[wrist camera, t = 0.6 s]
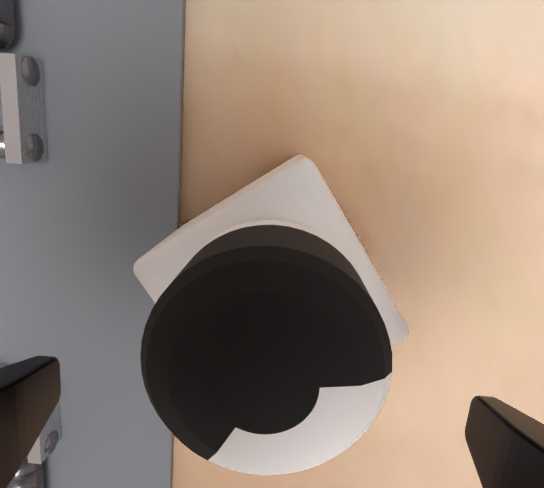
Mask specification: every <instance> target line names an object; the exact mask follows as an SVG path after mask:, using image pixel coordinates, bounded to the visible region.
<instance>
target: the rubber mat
mask: <svg viewBox="0 0 544 488" xmlns="http://www.w3.org/2000/svg"><path fill="white" fill-rule="evenodd" d="M13 2H14V18H15V37H14V40H13V42H12V43H11V45H10V46H9V47H7V48H6V49H4V50H0V53H10V54H17V55H20V56H31V57H33V58H34V59H35V60H36V61H37V62H40V63H43V64H44V84H45V105H46V125H47V146H48V162H44V163H30V164H15V163H6V158H0V363H7V364H8V365H11V364H14V363H17V362H20V361H23V360H26V359H29V358H32V357H35V356H40V355H41V356H52V357H56V358H57V359H58V360H59V362H60V376H61V395H60V412H61V433H62V438H61V439H60V440H59V442H58V443H57V445H56V447H55V449H54V451H53V452H52V453H51V454H50V455H48V456H47V457H46V459H45V460H44V461H43V462H42V463H43V479H44V488H172V469H173V433H172V432H171V431H170V430H169V429H168V428H167V427H166V425H165V424H164V423H163V421H162V420H161V419H160V417H159V416H158V415H157V413H156V411H155V409H154V407H153V406H152V404H151V402H150V399H149V397H148V394H147V392H146V389H145V386H144V381H143V377H142V372H141V359H140V354H141V342H142V337H143V333H144V328H145V325H146V322H147V320H148V317H149V315H150V313H151V310H152V308H153V307H154V305H155V302H154V301H153V300H152V298H151V297H150V295H149V294H148V293H147V291H146V290H145V288H144V287H143V285H142V284H141V283H140V281H139V280H138V278H137V277H136V276H135V274H134V271H133V268H134V263H135V262H136V261H137V260H138V259H139V258H141V257H142V256H143V255H144V254H146V253H147V252H148V251H150V250H151V249H152V248H154V247H155V246H156V245H158V244H159V243H160V242H161V241H163V240H164V239H165V238H167V237H168V236H169V235H171V234H172V233H173V232H175V231H176V230H177V229H178V228H179V213H180V177H181V140H182V103H183V67H184V30H185V0H13ZM0 131H4V130H3V117H2V103H1V89H0Z"/></svg>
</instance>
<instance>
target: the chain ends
mask: <svg viewBox="0 0 544 488" xmlns="http://www.w3.org/2000/svg"><path fill="white" fill-rule="evenodd" d="M14 37H15V18H14V2H13V0H0V50H4V49H6V48H7V47H9V46H10V45H11V43H12V42H13V40H14ZM0 89H1V103H2V117H3V130H4V131H0V158H6V163H15V164H30V163H44V162H48V146H47V125H46V105H45V84H44V64H43V63H40V62H37V61H36V60H35V59H34V58H33V57H31V56H20V55H17V54H10V53H0ZM5 366H8V364H7V363H0V368H2V367H5ZM61 438H62V433H61V412H60V399H59V402H58V404H57V406H56V407H55V409H54V411H53V412H52V414H51V416H50V418H49V419H48V421H47V423H46V425H45V426H44V428H43V430H42V432H41V433H40V435H39V437H38V439H37V440H36V442H35V444H34V446H33V447H32V449H31V451H30V453H29V454H28V456H27V458H26V459H25V461H24V463H23V464H22V466H21V468H20V469H19V470H18V472H17V473H16V475H15V476H14V478H13V479H12V481H11V482H10V484H9V485H8V486H7V488H44V479H43V463H42V462H43V461H44V460H45V459H46V457H47V456H48V455H50V454H51V453H52V452H53V451H54V449H55V447H56V445H57V443H58V442H59V440H60V439H61Z"/></svg>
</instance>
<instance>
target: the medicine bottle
mask: <svg viewBox="0 0 544 488" xmlns="http://www.w3.org/2000/svg"><path fill="white" fill-rule="evenodd" d="M133 271H134V274H135V276H136V277H137V278H138V280H139V281H140V283H141V284H142V285H143V287H144V288H145V290H146V291H147V293H148V294H149V295H150V297H151V298H152V300H153V301H154V302H155V305H154V307H153V308H152V310H151V313H150V315H149V317H148V320H147V322H146V325H145V328H144V333H143V337H142V342H141V354H140V359H141V372H142V377H143V381H144V386H145V389H146V392H147V394H148V397H149V399H150V402H151V404H152V406H153V407H154V409H155V411H156V413H157V415H158V416H159V417H160V419H161V420H162V421H163V423H164V424H165V425H166V427H167V428H168V429H169V430H170V431H171V432H172V433H173V434H174V435H175V436H176V437H177V438H178V439H179V440H180V441H181V442H182V443H183V444H184V445H185V446H187V447H188V448H189V449H190V450H192V451H193V452H194V453H196V454H198V455H199V456H201V457H203V458H204V459H206V460H208V461H210V462H212V463H214V464H217V465H219V466H221V467H224V468H227V469H230V470H234V471H237V472H243V473H248V474H256V475H283V474H289V473H295V472H300V471H303V470H306V469H310V468H313V467H315V466H318V465H320V464H322V463H324V462H327V461H328V460H330V459H332V458H333V457H335V456H337V455H338V454H340V453H342V452H343V451H345V450H346V449H347V448H348V447H350V446H351V445H352V444H353V443H355V442H356V441H357V440H358V439H359V438H360V437H361V436H362V435H363V434H364V433H365V432H366V431H367V430H368V428H369V427H370V426H371V424H372V423H373V421H374V420H375V419H376V417H377V416H378V414H379V412H380V410H381V408H382V406H383V404H384V402H385V399H386V396H387V393H388V390H389V386H390V380H391V374H392V351H391V346H392V345H393V344H395V343H397V342H399V341H401V340H403V339H404V338H406V337H407V335H408V332H409V330H408V325H407V323H406V321H405V320H404V318H403V316H402V314H401V313H400V311H399V309H398V307H397V306H396V304H395V302H394V301H393V299H392V297H391V295H390V294H389V292H388V290H387V288H386V287H385V285H384V283H383V281H382V280H381V278H380V276H379V274H378V273H377V271H376V269H375V267H374V266H373V264H372V262H371V261H370V259H369V257H368V255H367V254H366V252H365V250H364V248H363V247H362V245H361V243H360V241H359V240H358V238H357V236H356V234H355V233H354V231H353V229H352V228H351V226H350V224H349V222H348V221H347V219H346V217H345V215H344V214H343V212H342V210H341V208H340V207H339V205H338V203H337V201H336V200H335V198H334V196H333V194H332V193H331V191H330V189H329V188H328V186H327V184H326V182H325V181H324V179H323V177H322V175H321V174H320V172H319V170H318V168H317V167H316V165H315V164H314V163H313V162H312V161H311V160H310V159H308V158H306V157H305V156H303V155H296V156H294V157H292V158H291V159H289V160H287V161H286V162H284V163H283V164H281V165H279V166H278V167H276V168H274V169H273V170H271V171H270V172H268V173H266V174H265V175H263V176H261V177H260V178H258V179H257V180H255V181H253V182H252V183H250V184H249V185H247V186H245V187H244V188H242V189H240V190H239V191H237V192H236V193H234V194H232V195H231V196H229V197H227V198H226V199H224V200H223V201H221V202H219V203H218V204H216V205H214V206H213V207H211V208H210V209H208V210H206V211H205V212H203V213H201V214H200V215H198V216H197V217H195V218H193V219H192V220H190V221H189V222H187V223H185V224H184V225H182V226H181V227H180V228H178V229H177V230H176V231H175V232H173V233H172V234H171V235H169V236H168V237H167V238H165V239H164V240H163V241H161V242H160V243H159V244H158V245H156V246H155V247H154V248H152V249H151V250H150V251H148V252H147V253H146V254H144V255H143V256H142V257H141V258H139V259H138V260H137V261H136V262H135V263H134V268H133Z"/></svg>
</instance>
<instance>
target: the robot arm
mask: <svg viewBox="0 0 544 488" xmlns="http://www.w3.org/2000/svg"><path fill="white" fill-rule="evenodd" d="M60 395H61V376H60V362H59V360H58V359H57V358H56V357H52V356H41V355H40V356H35V357H32V358H29V359H26V360H23V361H20V362H17V363H14V364H11V365H8V366H5V367H2V368H0V488H7V486H8V485H9V484H10V482H11V481H12V479H13V478H14V476H15V475H16V473H17V472H18V470H19V469H20V468H21V466H22V464H23V463H24V461H25V459H26V458H27V456H28V454H29V453H30V451H31V449H32V447H33V446H34V444H35V442H36V440H37V439H38V437H39V435H40V433H41V432H42V430H43V428H44V426H45V425H46V423H47V421H48V419H49V418H50V416H51V414H52V412H53V411H54V409H55V407H56V406H57V404H58V402H59V399H60ZM465 437H466V442H467V445H468V447H469V450H470V453H471V456H472V459H473V461H474V464H475V467H476V470H477V473H478V475H479V478H480V481H481V484H482V487H483V488H544V424H542V423H540V422H539V421H537V420H535V419H533V418H531V417H530V416H528V415H526V414H524V413H522V412H520V411H519V410H517V409H515V408H513V407H511V406H510V405H508V404H506V403H504V402H502V401H500V400H499V399H497V398H494V397H487V396H475V397H474V398H473V399H472V401H471V405H470V409H469V414H468V418H467V423H466V427H465Z"/></svg>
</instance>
